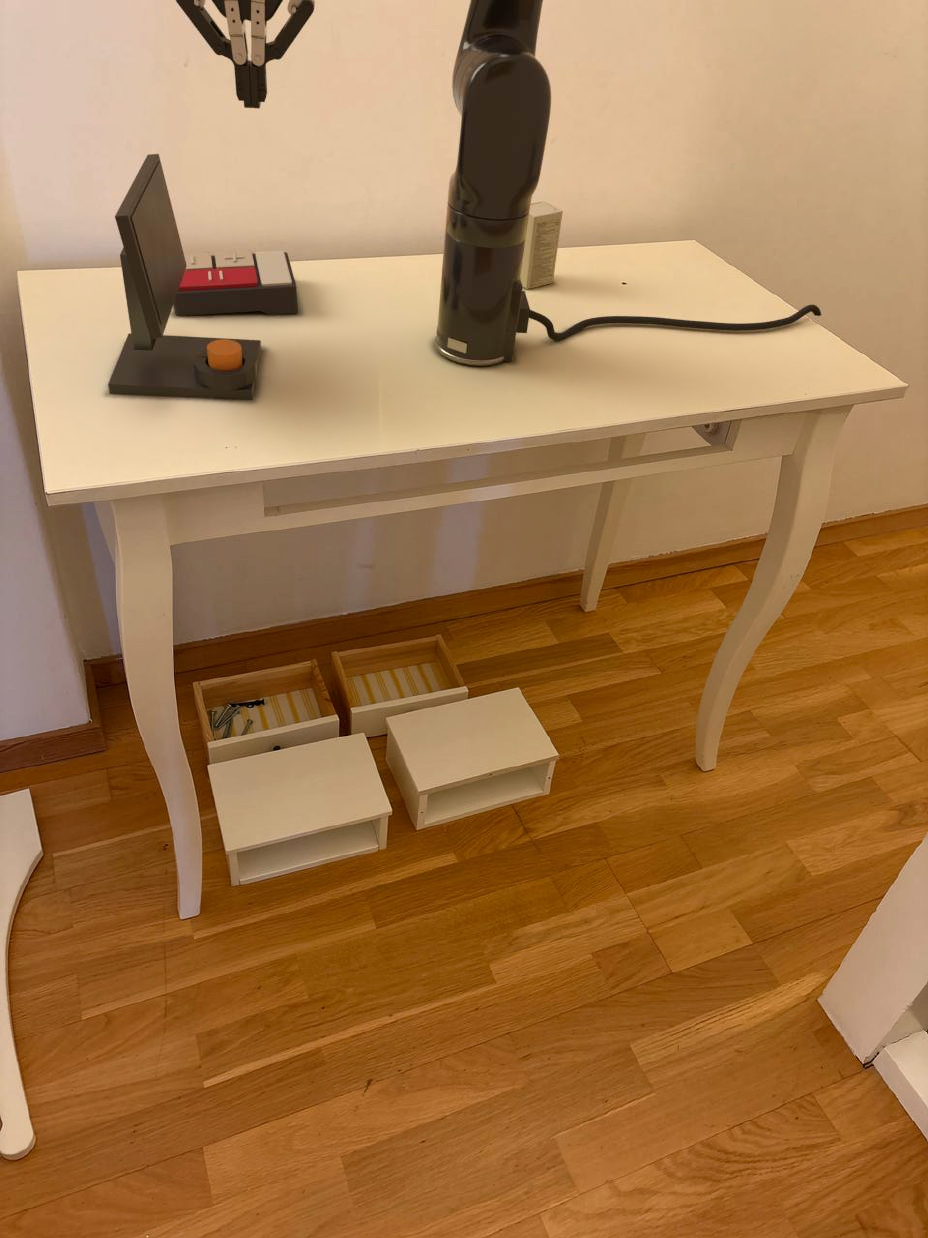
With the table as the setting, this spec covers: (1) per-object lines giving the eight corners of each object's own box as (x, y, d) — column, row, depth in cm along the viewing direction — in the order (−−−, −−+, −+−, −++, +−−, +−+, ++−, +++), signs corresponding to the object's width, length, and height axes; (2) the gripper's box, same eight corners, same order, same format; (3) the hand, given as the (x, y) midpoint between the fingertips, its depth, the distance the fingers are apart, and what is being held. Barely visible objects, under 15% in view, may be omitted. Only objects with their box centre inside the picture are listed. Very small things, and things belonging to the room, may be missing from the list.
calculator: (168, 251, 122) (286, 245, 125) (173, 283, 125) (289, 277, 128) (170, 287, 114) (296, 280, 117) (175, 321, 117) (298, 313, 120)
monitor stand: (156, 337, 106) (144, 244, 99) (152, 350, 104) (139, 255, 97) (138, 336, 106) (125, 243, 99) (133, 349, 104) (119, 254, 97)
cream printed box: (534, 272, 138) (545, 200, 131) (553, 283, 135) (565, 211, 129) (506, 277, 135) (515, 204, 129) (525, 289, 133) (535, 215, 126)
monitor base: (263, 349, 113) (262, 325, 111) (254, 401, 104) (253, 376, 102) (129, 342, 111) (126, 318, 109) (109, 395, 102) (104, 369, 100)
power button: (243, 357, 106) (242, 339, 104) (240, 372, 103) (239, 355, 102) (210, 355, 105) (209, 338, 104) (206, 371, 102) (204, 353, 101)
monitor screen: (187, 265, 108) (159, 153, 100) (163, 337, 95) (128, 214, 87) (170, 267, 108) (141, 154, 100) (143, 339, 95) (107, 216, 87)
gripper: (151, -121, 78) (177, 112, 89) (315, -106, 79) (320, 121, 91) (165, -130, 83) (188, 91, 95) (318, -116, 85) (322, 99, 96)
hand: (253, 105), depth 93 cm, fingers closed
